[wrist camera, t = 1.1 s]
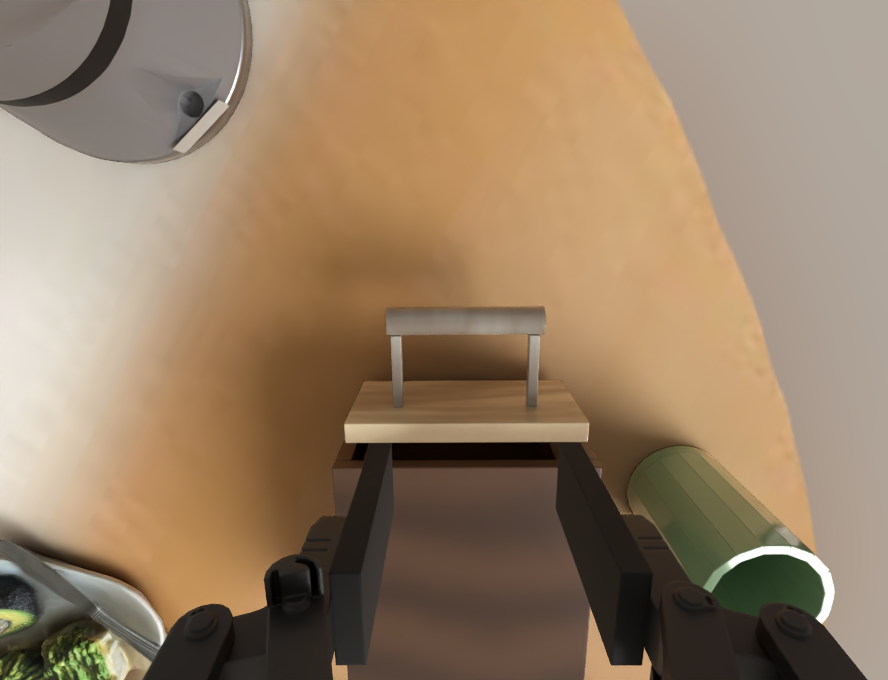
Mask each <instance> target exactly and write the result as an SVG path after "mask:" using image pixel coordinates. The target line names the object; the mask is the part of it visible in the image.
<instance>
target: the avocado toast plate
mask: <svg viewBox="0 0 888 680" xmlns="http://www.w3.org/2000/svg"><path fill="white" fill-rule="evenodd" d="M166 637H167V635H166V632H165V629H164V625H163V621H162V619H161V618H160V616H159V615H158V614H157V612H156V611H155V609H154V608H153V607H152V605H151V604H150V603H149V602H148V600H147V599H146V597H145V596H144V594H142V593H141V592H140V591H139V590H137V589H136V588H134V587H132V586H130V585H129V584H127V583H125V582H123V581H120V580H118V579H116V578H114V577H111V576H107V575H103V574H100V573H97V572H93V571H89V570H86V569H83V568H80V567H77V566H74V565H71V564H68V563H65V562H63V561H61V560H58V559H55V558H51V557H46V556H42V555H40V554H38V553H36V552H34V551H31V550H29V549H27V548H25V547H23V546H21V545H18V544H16V543H14V542H12V541H9V540H0V680H142V679H143V677H144V675H145V674H146V672H147V670H148V668H149V667H150V665H151V663H152V661H153V660H154V658H155V656H156V654H157V653H158V651H159V649H160V647H161V646H162V644H163V642H164V640H165V639H166Z"/></svg>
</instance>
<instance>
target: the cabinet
mask: <svg viewBox="0 0 888 680" xmlns="http://www.w3.org/2000/svg"><path fill="white" fill-rule="evenodd" d="M581 444H582V446H583V448H584V449H585V451H586V453H587V455H588V457H589V458H590V460H591V462H592V464H593V466H594V467H595V469H596V471H597V473H598V475H599V476H600V478H601V476H602V466H601V465H600V463H599V461H598V460H597V458H596V456H595V454H594V452H593V451H592V449H591V447H590V446H589V444H588V442H581ZM367 446H368V443H345V440H344V442H343V444H342V447H341V449H340V451H339V454H338V456H337V458H336V461H335V463H334V466H333V468H332V474H333V487H334V500H335V513H336V516H347V514H348V511H349V508H350V505H351V502H352V499H353V496H354V493H355V490H356V486H357V483H358V480H359V477H360V474H361V471H362V468H363V465H364V462H365V461H363V459H364V455H365V452H366V449H367ZM392 469H393V494H394V512H393V518H392V523H391V529H390V535H389V540H388V546H387V551H386V557H385V563H384V568H383V574H382V580H381V585H380V591H379V597H378V602H377V608H376V614H375V619H374V625H373V630H372V636H371V642H370V647H369V653H368V659H367V664H366V665H347V669H348V680H584V675H585V664H586V652H587V640H588V629H589V617H590V604H589V601H588V599H587V596H586V593H585V590H584V587H583V584H582V582H581V579H580V576H579V573H578V570H577V567H576V565H575V562H574V559H573V556H572V553H571V551H570V548H569V545H568V542H567V539H566V536H565V534H564V531H563V528H562V525H561V522H560V519H559V517H558V514H557V511H556V492H557V475H558V460H392Z"/></svg>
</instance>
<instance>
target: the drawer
mask: <svg viewBox="0 0 888 680" xmlns="http://www.w3.org/2000/svg"><path fill="white" fill-rule="evenodd" d="M385 327H386V334H387V335H391V337H390V338H391V364H392V381H364V383H363V385H362V387H361V389H360V391H359V393H358V396H357V398H356V400H355V402H354V404H353V406H352V408H351V410H350V413H349V415H348V417H347V419H346V421H345V423H344V432H345V443H368V446H367V449H366V452H365V455H364V459H363V461H365V459H366V456H367V453H368V449H369V446H370V443H391V444H392V460H558V458H559V442H588V434H589V422H588V420H587V419H586V417H585V416H584V414H583V412H582V411H581V409H580V408H579V406H578V405H577V403H576V402H575V400H574V399H573V397H572V395H571V394H570V392H569V391H568V389H567V388H566V386H565V385H564V383H563V382H562V380H538V372H539V349H540V335H539V334H544V332H545V328H546V313H545V308H544V307H399V308H387V309H386V314H385ZM525 334H528V356H527V380H495V381H403V362H402V335H525Z"/></svg>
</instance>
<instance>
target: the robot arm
mask: <svg viewBox="0 0 888 680" xmlns="http://www.w3.org/2000/svg"><path fill="white" fill-rule="evenodd" d="M251 57H252V24H251V17H250V10H249V6H248V2H247V0H0V107H1V108H3V109H4V110H6V111H8V112H9V113H11V114H12V115H14V116H15V117H17V118H19V119H20V120H22V121H24V122H25V123H27V124H28V125H30V126H32V127H33V128H35V129H37V130H38V131H40V132H41V133H43V134H44V135H46V136H48V137H49V138H51V139H53V140H55V141H56V142H58V143H60V144H62V145H64V146H66V147H69V148H71V149H74V150H76V151H78V152H81V153H84V154H86V155H89V156H92V157H96V158H100V159H104V160H110V161H117V162H125V163H132V164H153V163H161V162H166V161H170V160H174V159H177V158H180V157H183V156H185V155H187V154H190V153H191V152H193V151H195V150H197V149H199V148H200V147H202V146H203V145H204V144H206V143H207V142H209V141H210V140H211V139H212V138H213V137H214V136H215V135H216V134H217V133H218V132H219V131H220V130H221V129H222V128H223V127H224V126H225V124H226V123H227V122H228V120H229V119H230V117H231V116H232V115H233V113H234V111H235V109H236V107H237V106H238V104H239V102H240V99H241V97H242V95H243V92H244V89H245V86H246V83H247V80H248V75H249V71H250V65H251ZM556 511H557V514H558V517H559V519H560V522H561V525H562V528H563V531H564V534H565V536H566V539H567V542H568V545H569V548H570V551H571V553H572V556H573V559H574V562H575V565H576V567H577V570H578V573H579V576H580V579H581V582H582V584H583V587H584V590H585V593H586V596H587V599H588V601H589V604H590V607H591V610H592V613H593V615H594V618H595V621H596V624H597V627H598V630H599V632H600V635H601V638H602V641H603V644H604V647H605V649H606V652H607V655H608V658H609V661H610V664H611V665H642V660H643V652H644V647H645V650H646V652H647V654H648V656H649V659H650V661H651V663H652V666H651V673H650V680H867V679H866V677H865V676H864V675H863V674H862V672H861V671H860V670H859V669H858V668H857V666H856V665H855V664H854V663H853V661H852V660H851V659H850V658H849V656H848V655H847V654H846V653H845V651H844V650H843V649H842V648H841V646H840V645H839V644H838V643H837V641H836V640H835V639H834V638H833V636H832V635H831V634H830V633H829V632H828V630H827V629H826V628H825V627H824V626H823V625H822V624H821V623H820V622H819V621H818V620H817V619H816V618H815V617H814V616H812V615H811V614H809V613H807V612H806V611H804V610H803V609H800V608H798V607H795V606H793V605H790V604H786V603H780V602H771V603H766V604H765V605H763V606H762V607H761V608H760V612H759V617H758V616H754V615H750V614H746V613H742V612H737V611H733V610H730V609H727V608H724V607H721V606H720V604H719V602H718V600H717V599H716V598H715V597H714V596H713V595H712V594H711V593H710V592H709V591H708V590H706V589H704V588H702V587H701V586H699V585H696V584H693V583H692V582H691V581H690V579H689V577H688V576H687V574H686V573H685V571H684V570H683V568H682V567H681V565H680V563H679V562H678V560H677V559H676V557H675V556H674V554H673V553H672V551H671V550H669V546H668V545H667V543H666V542H665V540H663V537H662V536H661V534H660V532H659V531H658V529H657V528H656V526H655V525H654V524H653V523H651V522H650V521H649V520H648V519H646V518H645V517H644V516H642V515H621V514H620V512H619V510H618V509H617V507H616V505H615V503H614V502H613V500H612V498H611V496H610V494H609V493H608V491H607V489H606V487H605V485H604V484H603V482H602V480H601V478H600V476H599V475H598V473H597V471H596V469H595V467H594V466H593V464H592V462H591V460H590V458H589V457H588V455H587V453H586V451H585V449H584V448H583V446H582V444H581V442H559V458H558V475H557V492H556ZM393 512H394V494H393V469H392V444H391V443H370V446H369V449H368V453H367V456H366V459H365V462H364V465H363V468H362V471H361V474H360V477H359V480H358V483H357V486H356V490H355V493H354V496H353V499H352V502H351V505H350V508H349V511H348V514H347V516H322V517H321V518H320V519H319V520H318V521H317V522H316V523H315V524H314V525H313V526H312V527H311V529H310V531H309V533H308V536H307V538H306V542H305V543H304V545H303V547H302V552H300V554H294V555H290V556H287V557H284V558H282V559H280V560H278V561H277V562H275V563H274V564H272V566H271V567H270V568H269V569H268V570H267V571H266V574H265V577H264V583H265V591H266V599H267V606H266V607H264V608H262V609H260V610H257V611H254V612H251V613H247V614H243V615H239V616H235V617H233V616H232V614H231V611H230V609H229V608H227V607H225V606H224V605H220V604H209V605H203V606H200V607H197V608H195V609H193V610H191V611H189V612H187V613H186V614H185V615H183V616H182V617H181V618H179V619H178V621H177V622H176V623H175V624H174V625H173V627H172V628H171V630H170V631H169V633H168V635H167V637H166V639H165V640H164V642H163V644H162V646H161V647H160V649H159V651H158V653H157V654H156V656H155V658H154V660H153V661H152V663H151V665H150V667H149V668H148V670H147V672H146V674H145V675H144V677H143V679H142V680H333V675H332V665H331V663H332V659H333V655H334V651H335V659H336V665H366V664H367V659H368V653H369V647H370V642H371V636H372V630H373V625H374V619H375V614H376V608H377V602H378V597H379V591H380V585H381V580H382V574H383V568H384V563H385V557H386V551H387V546H388V540H389V535H390V529H391V523H392V518H393Z"/></svg>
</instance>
